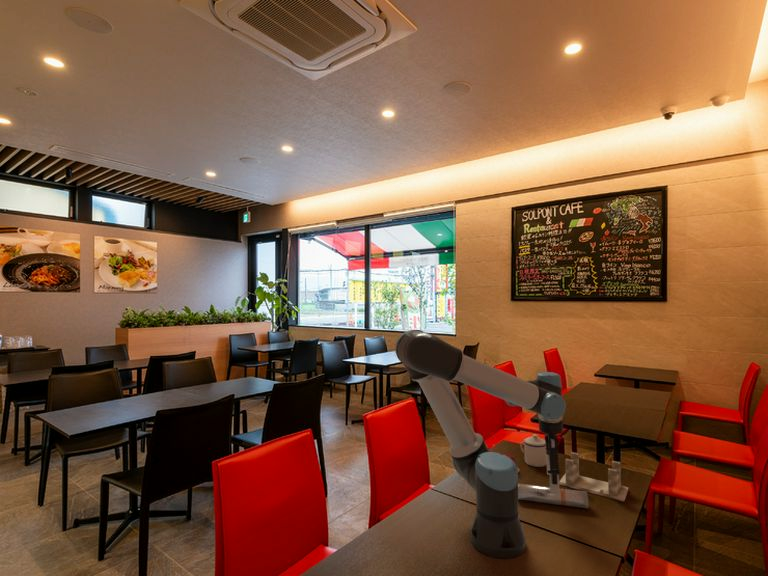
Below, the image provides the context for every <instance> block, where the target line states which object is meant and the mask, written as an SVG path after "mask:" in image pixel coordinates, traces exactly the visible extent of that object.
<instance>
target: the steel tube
mask: <svg viewBox="0 0 768 576" xmlns="http://www.w3.org/2000/svg"><path fill="white" fill-rule="evenodd" d="M559 491H560V494H553V493H550V486H549V487H548V486H542V485H533V484H526V483H525V484H524V483H519V482H518V501H520V500H521V501H527V502H536V503H542V504H543V503H544V504H551V505H556V506H557V505H558V506H566V507H572V508H573V507H574V508H581V509H586V510H587V509H589V495H588V492H586V491H582V490H577V489H567V488H560V487H559Z"/></svg>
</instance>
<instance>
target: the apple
mask: <svg viewBox="0 0 768 576" xmlns="http://www.w3.org/2000/svg"><path fill="white" fill-rule="evenodd" d="M504 455H505V456H507V457H509V458H510V459H512V460H513V461H514V463H515V464H516V459H515V457H514V456H513V455H512V454H507V453H506V454H504ZM519 472H520V468H518V467H517V473H519Z"/></svg>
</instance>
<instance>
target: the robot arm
mask: <svg viewBox="0 0 768 576" xmlns="http://www.w3.org/2000/svg"><path fill="white" fill-rule="evenodd" d="M394 348H395V350H394V352H395V355H396V357H397V359H398V360H399V361H400V363H402V364H403V366H404V368H405V370H406V372H407V374H408V376H409V377H410V379H411V381H413V382H417V383H418V384H419V386H420V388H421V390H422V392H423V394H424V396H425V397H426V400H427V401H428V403H429V406H430V407H431V409H432V411H433V413H434V416H435V417H436V419H437V421H438V423H439V425H440V426H441V429H442V431H443V432H444V434H445V436H446V438H447V440H448V443H449V444H450V447H449V451H448V452H449V455H450V457H451V458H452V464H453V466H454V469H455V471H456V473H458V475H459V476H460V477H462V478H463V479H464V481H465V482H467V484H468V485H469V486H470V487H471V488H472V489H473V491H474V492H475V495H476V497H475V498H476V504H475V506H476V511H475V512H476V513H475V516H474V519H473V521H472V524H471V528H470V542H471V544H472V545H473V547H474V548H476V550H478V551H479V552H480V553H482V554H484V555H487V556H489V557H493V558H497V559H511V558H517V557H519V556H520V555H522V554H523V553H524V552H525V550H526V547H527V545H526V536H525V532H524V529H523V527H522V524H521V520H520V518H519V499H518V483H519V474H518V473H519V472H518V473H517V468H518V467H517V464H516V463H514V461H513V460H512V459H510V458H509V457H507V456H505V454H501V453H500V452H496V451H495V452H494V451H490V450H489V447H488V445H487V443H486V442H485V440H484V438H483V435H481V434H480V433H478V432H477V433H476V432H475V431H474V429H473V427H472V425H471V423H470V421H469V419H468V417H467V415H466V413H465V411H464V409H463V407H462V405H461V403H460V401H459V399H458V397H457V396H456V393H455V391H454V389H453V388H452V386H451V384H450V382H452V381H457V382H460V383H461V384H465V385H466V386H469V387H472V388H474V389H477V390H479V391H482V392H483V393H486V394H489V395H491V396H494V397H496V398H499V399H501V400H504V402H505V403H506V404H507V405H508V406H510V407H518V406H519V407H521V408H524V409H526V410H528V411H530V412H533V413H536V414H537V417H538V418H539V419H538V430H539V431H540V432H541V433H543V434H545V435H544V440H545V443H546V454H547V455H546V459H547V464H546V475H548V476H549V487H550V493H553V494H560V491H559V488H560V485H559V481H560V467H559V466H560V465H559V453H558V452H559V438H558V436H557V435H561V434H562V433H564V422H563V416H564V414H566V413H565V412H566V409H567V408H566V407H567V404H566V401H565V399H564V398H563V391H562V390H563V386H562V378H561V375H560V374H558V373H555V372H553V371H551V372H550V371H540V372H538V373H537V374H536V379H533V380H525V379H522V378H520V377H518V376H515V375H512V374H511V373H508V372H505V371H503V370H501V369H498V368H496V367H494V366H491V365H488V364H486V363H484V362H482V361H480V360H477V359H475V358H472V357H470V356H467V355H466V354H464V352H463V350H462V349H460V348H459V347H455V346H454V345H452V344H450V343H448V342H446V341H444V340H443V339H441V338H439V337H438V336H436V335H435V334H432V333H429V332H426V331H424V330H420V329H410V330H407V331H404V332H403V333H402V334H400V336H399V337H398V338H397V340H396V342H395V346H394Z"/></svg>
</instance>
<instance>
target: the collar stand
mask: <svg viewBox="0 0 768 576" xmlns="http://www.w3.org/2000/svg"><path fill="white" fill-rule="evenodd" d="M579 455H580V454H579V453H577V452H574V451H570V458H566V459H564V460H565V462H564V464H565V466H564V467H565V468H564V469H565V470H564V471H565V473H564V474H563V475H562V477H561V478H560V479H559V486H560V485H561V486H564V487H568V488H571V489H573V490H577V491H585V492H587V493H590V494H594V495H597V496H602V497H605V498H610V499H613V500H616V501H621V502H625V500H626V497H627V494H628V492H629V487H628V486H625V485H622V477H621V476H622V474H621V471H622V470H621V461H615V460H612V461H611V468H608V469H607V480H608V481H604V480H599V479H595V478H591V477H587V476H583V475H580V459H579Z"/></svg>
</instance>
